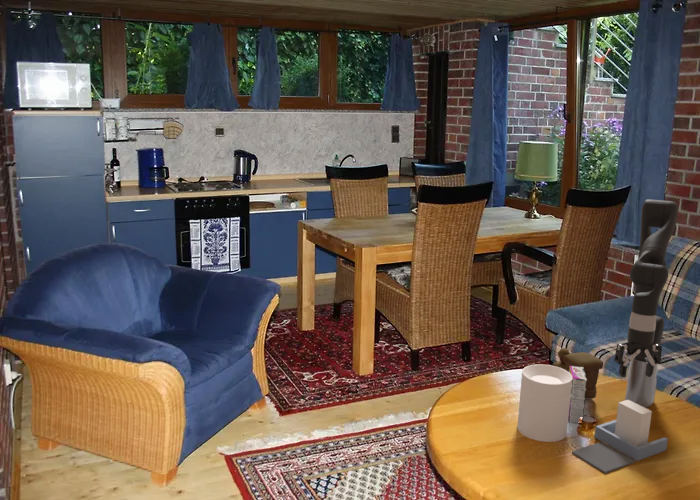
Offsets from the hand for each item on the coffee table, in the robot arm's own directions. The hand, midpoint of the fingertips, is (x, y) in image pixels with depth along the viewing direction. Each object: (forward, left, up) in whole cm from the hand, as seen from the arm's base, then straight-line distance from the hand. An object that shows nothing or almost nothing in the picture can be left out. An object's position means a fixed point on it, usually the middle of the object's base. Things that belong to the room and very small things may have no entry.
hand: (635, 376), depth 216 cm
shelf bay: (-1, 0, -24) cm, 24 cm away
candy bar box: (+1, -22, -24) cm, 32 cm away
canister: (+18, -20, -24) cm, 36 cm away
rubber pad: (+14, +2, -24) cm, 27 cm away
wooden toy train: (-11, -35, -24) cm, 44 cm away
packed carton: (-1, 0, -24) cm, 24 cm away
